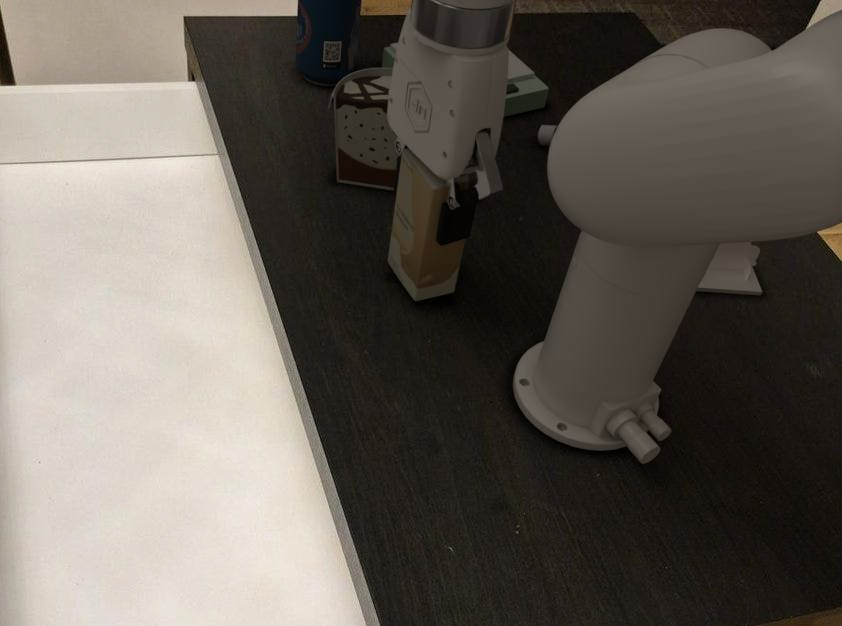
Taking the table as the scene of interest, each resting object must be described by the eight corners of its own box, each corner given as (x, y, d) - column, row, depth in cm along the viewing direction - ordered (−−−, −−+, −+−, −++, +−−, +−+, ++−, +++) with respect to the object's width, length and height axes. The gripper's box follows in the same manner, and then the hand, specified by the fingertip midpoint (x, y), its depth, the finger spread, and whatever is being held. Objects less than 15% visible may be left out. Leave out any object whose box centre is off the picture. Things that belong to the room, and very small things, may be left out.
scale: (544, 107, 111) (550, 83, 108) (443, 131, 105) (448, 106, 103) (479, 47, 118) (483, 23, 115) (381, 67, 112) (384, 42, 110)
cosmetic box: (385, 262, 90) (398, 145, 80) (426, 253, 91) (443, 137, 82) (415, 305, 86) (432, 188, 77) (457, 294, 88) (479, 178, 78)
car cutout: (743, 251, 98) (761, 215, 94) (760, 295, 94) (780, 259, 90) (601, 241, 96) (615, 204, 93) (613, 285, 92) (627, 248, 89)
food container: (444, 163, 102) (460, 75, 94) (441, 197, 98) (457, 109, 90) (330, 145, 101) (336, 56, 93) (322, 179, 98) (328, 89, 90)
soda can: (291, 56, 111) (295, -51, 102) (349, 57, 113) (358, -49, 103) (299, 89, 107) (303, -19, 98) (359, 89, 109) (369, -18, 99)
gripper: (360, -33, 72) (346, 172, 86) (485, 78, 64) (447, 287, 78) (442, -47, 75) (416, 154, 89) (573, 59, 66) (521, 263, 80)
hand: (430, 214), depth 83 cm, fingers closed on cosmetic box, 6 cm apart
